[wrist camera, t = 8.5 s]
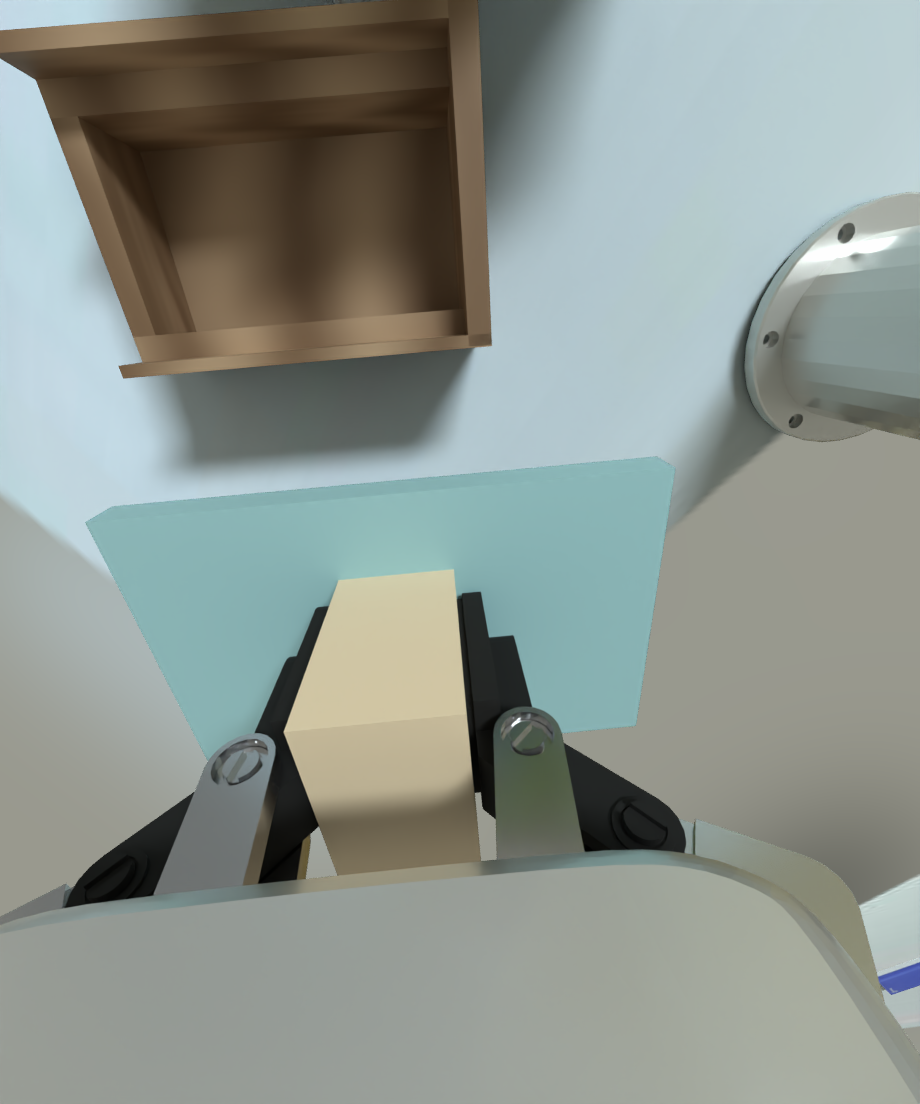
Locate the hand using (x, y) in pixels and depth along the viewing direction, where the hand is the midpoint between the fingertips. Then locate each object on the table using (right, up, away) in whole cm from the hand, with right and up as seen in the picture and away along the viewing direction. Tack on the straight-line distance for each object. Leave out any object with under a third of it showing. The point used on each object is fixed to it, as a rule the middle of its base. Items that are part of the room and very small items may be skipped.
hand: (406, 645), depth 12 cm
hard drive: (+75, -63, +59) cm, 114 cm away
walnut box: (-6, +19, +11) cm, 22 cm away
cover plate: (0, +1, +1) cm, 1 cm away
